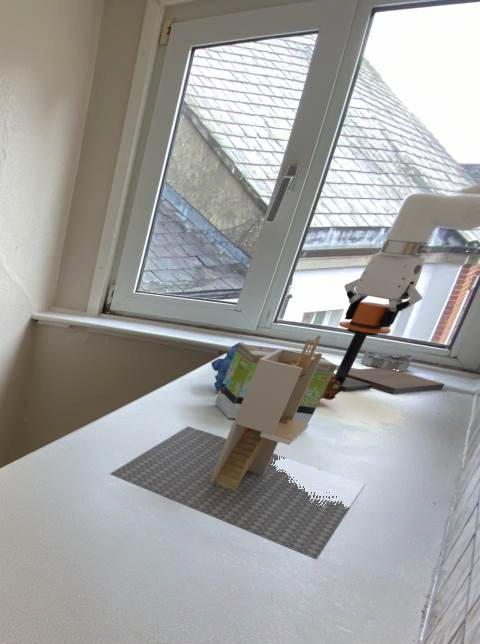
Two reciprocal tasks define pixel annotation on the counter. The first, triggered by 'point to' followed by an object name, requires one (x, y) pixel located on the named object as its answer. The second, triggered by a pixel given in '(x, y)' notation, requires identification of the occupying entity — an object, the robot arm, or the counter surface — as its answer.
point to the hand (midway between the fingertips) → (366, 322)
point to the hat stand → (348, 361)
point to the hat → (368, 318)
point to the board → (393, 380)
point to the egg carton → (387, 361)
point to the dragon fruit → (332, 389)
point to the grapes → (223, 366)
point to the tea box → (244, 371)
